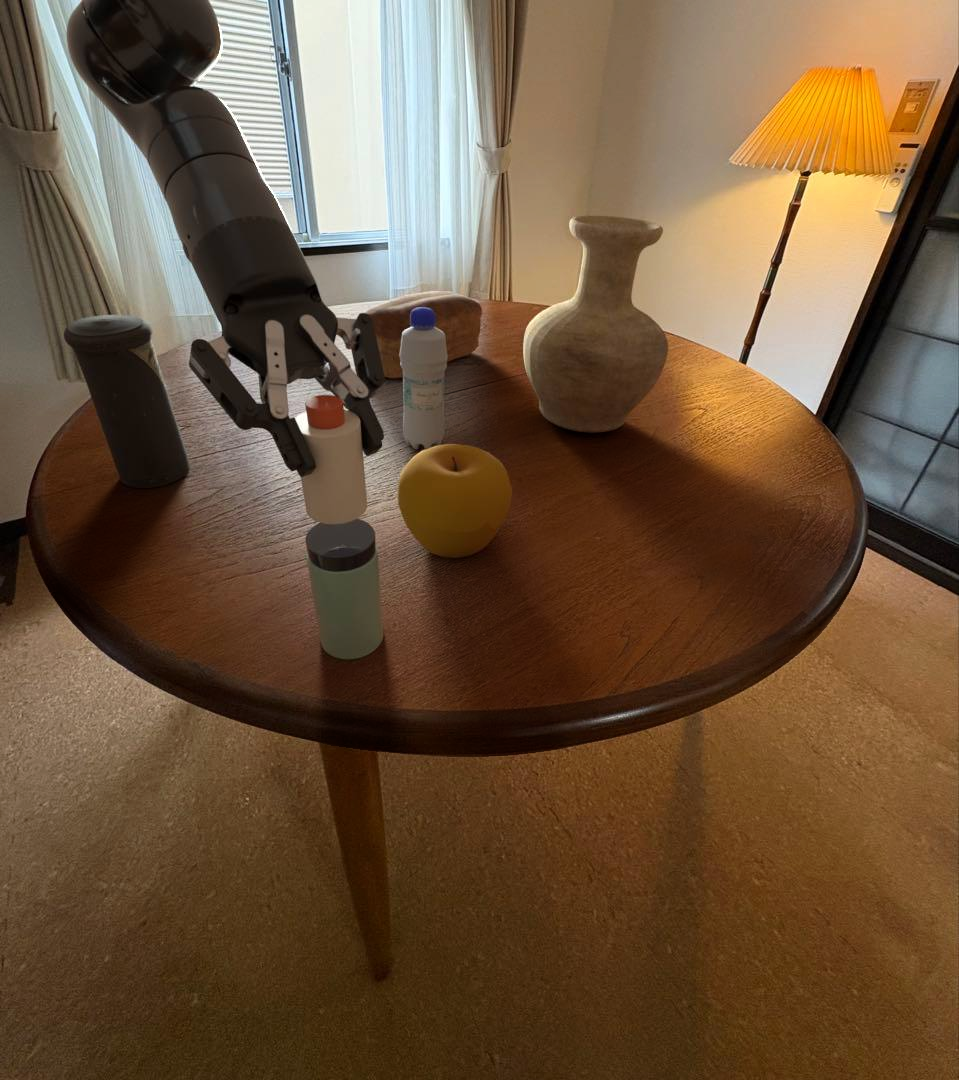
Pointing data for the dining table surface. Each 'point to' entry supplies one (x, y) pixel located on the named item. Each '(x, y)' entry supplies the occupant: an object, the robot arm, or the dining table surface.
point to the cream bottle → (333, 461)
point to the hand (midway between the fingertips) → (342, 460)
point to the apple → (454, 498)
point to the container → (130, 398)
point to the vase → (597, 333)
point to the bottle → (423, 379)
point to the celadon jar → (346, 587)
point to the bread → (452, 318)
